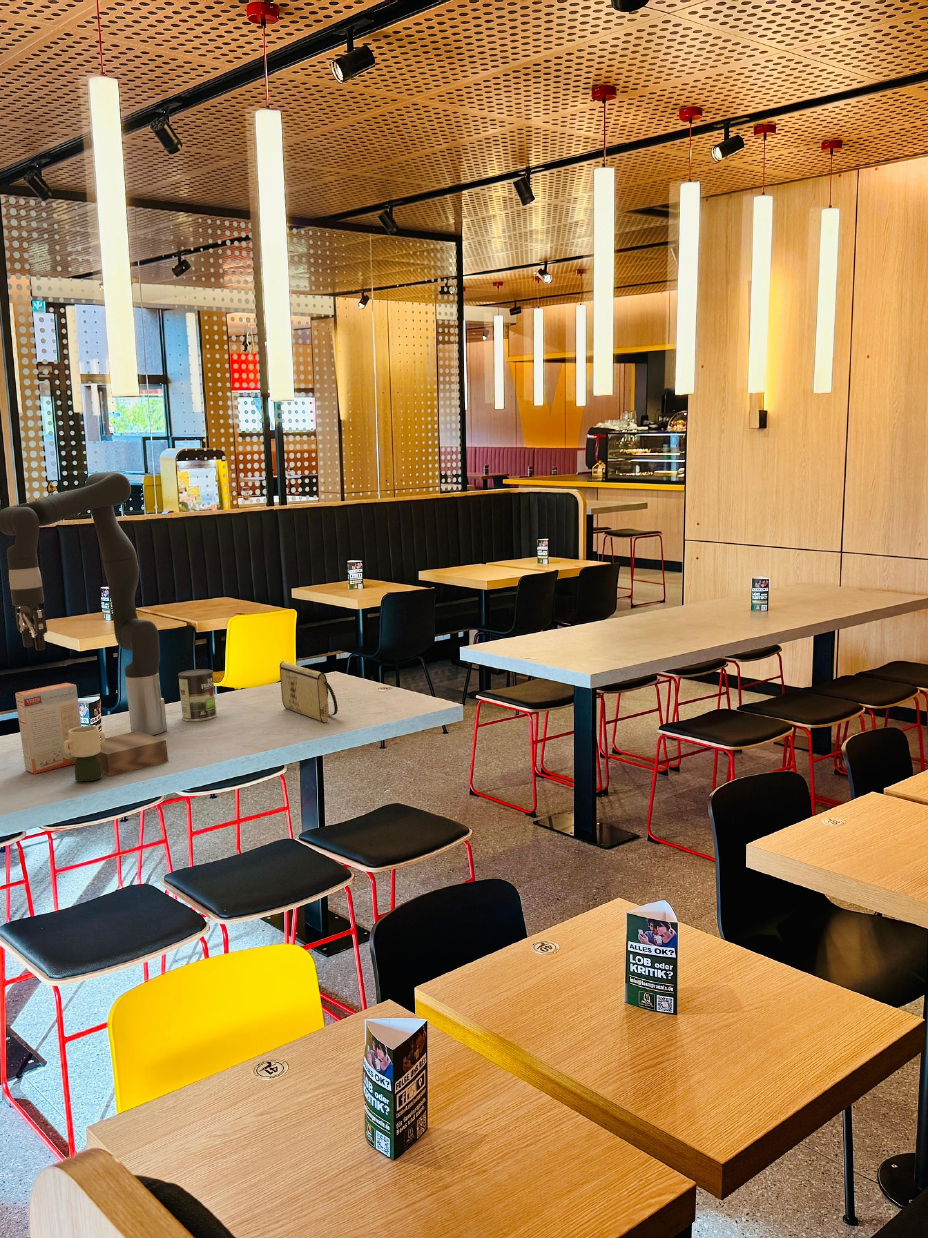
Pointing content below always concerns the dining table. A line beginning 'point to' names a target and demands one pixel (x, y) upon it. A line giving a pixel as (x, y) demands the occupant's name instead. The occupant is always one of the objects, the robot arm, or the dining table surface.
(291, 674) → the clutch purse
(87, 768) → the character mug
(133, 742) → the walnut block
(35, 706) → the cracker box
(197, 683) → the coffee can
